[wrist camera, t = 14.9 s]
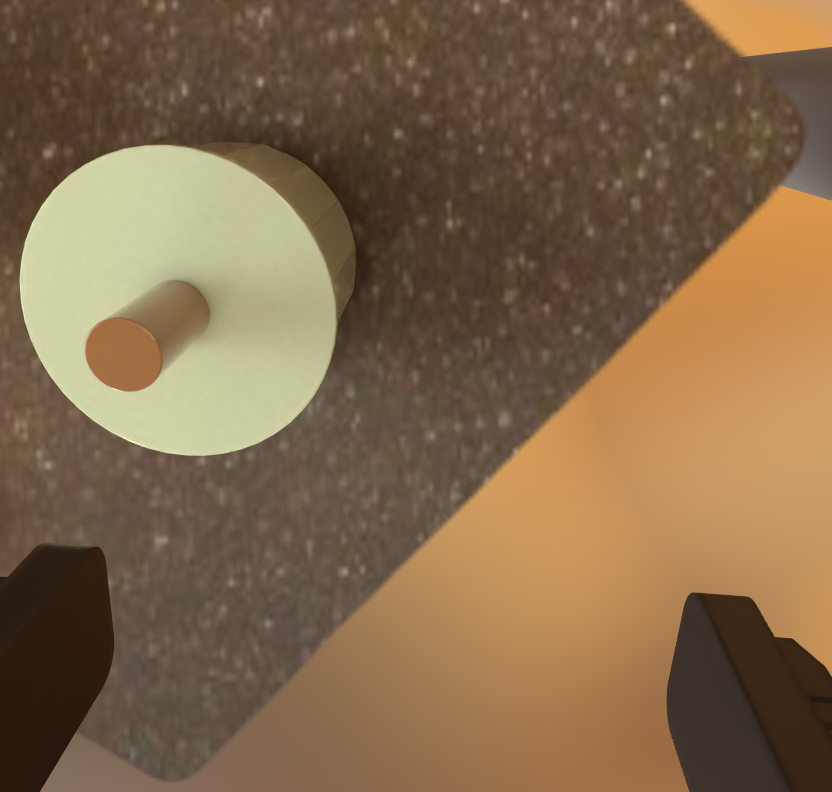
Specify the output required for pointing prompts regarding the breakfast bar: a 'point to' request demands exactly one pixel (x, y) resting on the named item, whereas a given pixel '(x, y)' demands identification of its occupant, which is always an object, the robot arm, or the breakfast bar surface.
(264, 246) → the canister lid
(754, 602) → the robot arm
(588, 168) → the breakfast bar surface
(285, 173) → the canister
